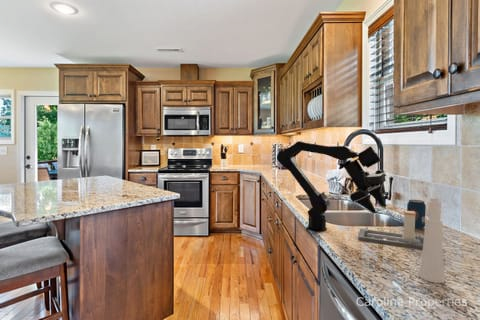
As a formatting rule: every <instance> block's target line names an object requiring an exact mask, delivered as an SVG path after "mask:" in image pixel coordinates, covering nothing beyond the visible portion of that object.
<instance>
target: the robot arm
mask: <svg viewBox="0 0 480 320" xmlns="http://www.w3.org/2000/svg"><path fill="white" fill-rule="evenodd" d="M301 152H308V153H315V154H319V155H325V156H328V157H331V158H334V159H336V160H338V161H345V162H339V167H338V170H343V169H344V170H345V171H346V173H347V174H348V176H349V177H350V180H349V182H350V183H353V184H354V185H355V187H356V188H355V191H354V192H352V193H351V194H350V196H349V199H350V200H351V202H352V203H355V204H358V205H360V206H361V207H363V208H365V209H366V210H368V211H369V212H371V213H372V214H375V213H377V211H376V208H375V206H374V204H373V202H372V201H371V197H372V198H374V199H375V200H376V201H377V203H379V204H380V205H381V206H384V205H386V202H385V200H384V196H383V194H382V188H383V187H384V183H385V182H387V179H386V176H387V174H386V173H385V172H384V171H383V170H382V169H377V170H376V171H375V173H372V174H370V173H369V172H368V171H365V170H364V169H363V168H364V167H366V168H367V169H368V168H370V167H372V166H374V165H376V164H378V163H380V162H382V159H381V157H380V156H379V154H378V153H377V152H376V150H374V148H373V147H372V146H369V147H367V148H365V149H364V150H362V151H360V152H359V153H358V152H355V151H352V149H351V148H350V146H347V145H346V146H344V145H337V146H335V145H331V146H330V145H329V146H328V145H324V144H323V145H322V144H318V143H317V144H316V143H309V142H305V141H300V140H299V141H297V142H295V143H294V144H292V145H291V146H289V147H287V148H286V149H284V150H281V151H279V152H278V153H277V154H276V160H277V162H278V163H279V164H281V165H282V167H283V168H285V169H286V170H288V171H289V172H290V173H291V175H292V177H293V178H294V179H295V180H296V182H297V183H298V185H299V186H300V187H301V189H302V190H303V191H304V193H305V194H306V196H307V197H308V199H309V202H310V205H311V207H310V209H309V210H307V215H308V226H306V227H305V228H306V229H307V230H311V231H314V232H317V233H320V232H323V231H326V230H328V228H327V227H326V223H327V219H326V215H325V213H326V212H327V211H328V210H329V209H330V207H331V203H330V198H329V197H327V195H326V193H325V191H322V192H320V191H318V190H317V189H316V187H315V186H314V185H313V183H312V182H311V181H310V180H309V178H308V177H307V176H306V174H305V173H304V172H303V171H302V169H301V167H300V166H299V165H298V163H297V159H296V157H297V156H298V155H299V154H300V153H301ZM355 158H356V159H355ZM351 159H354V160H351ZM346 160H347V161H346Z"/></svg>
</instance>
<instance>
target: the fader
mask: <svg viewBox="0 0 480 320" xmlns="http://www.w3.org/2000/svg"><path fill="white" fill-rule="evenodd" d="M415 216H416V213H415V212H414V211H407V210H403V233H402V234H403V235H402V236H401V237H402V238H407V239H415V240H416V238H415V237H414V235H415V234H416V233H415V231H416V229H415Z"/></svg>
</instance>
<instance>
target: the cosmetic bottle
mask: <svg viewBox="0 0 480 320" xmlns="http://www.w3.org/2000/svg"><path fill="white" fill-rule="evenodd" d="M427 205H428V206H427V218H426V217H425V227H424V233H423V234H424V235H423V237H424V242H423V249H422V252H421V262H420V265H419V270H418V274H417V275H418V277H419V278H421V279H422V280H424V281H426V282H430V283H433V282H434V284H443V283H445V282H446V277H445V269H444V254H443V253H444V251H443V250H444V248H443V247H444V246H443V243H444V242H443V237H444V236H443V220H442V219H441V216H442V215H441V211H442V210H441V209H442V202H441V199H440V198H439V197H434V196H433V197H431V196H430V197H429V201H428V203H427Z"/></svg>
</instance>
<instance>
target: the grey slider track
mask: <svg viewBox="0 0 480 320" xmlns="http://www.w3.org/2000/svg"><path fill="white" fill-rule="evenodd" d="M402 235H403V233H401V232H400V233H399V232H391V231H383V230H378V229H377V230H376V229H375V230H374V229H370V228H368V227H364V228H359V231H358V241H363V242H370V243H377V244H383V245H391V246H395V247H396V246H397V247H403V248H412V249H419V250H423V242H424V235H423V234H422V233H421V234H420V233H419V234H418V235H414V237H415V238H416V240H415V239H407V238H402V237H401V236H402Z"/></svg>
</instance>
